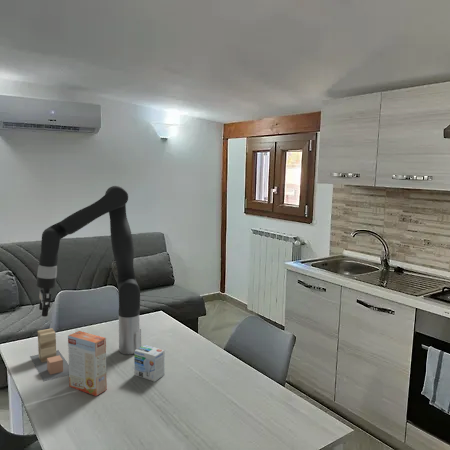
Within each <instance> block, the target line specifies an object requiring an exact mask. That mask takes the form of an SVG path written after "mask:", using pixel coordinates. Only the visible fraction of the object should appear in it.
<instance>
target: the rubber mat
mask: <svg viewBox="0 0 450 450" xmlns="http://www.w3.org/2000/svg"><path fill="white" fill-rule="evenodd" d="M59 355H60V357H61V358H62V359H63V372H59V373H55V374H51V375H50V373H49V372H48V370H47V361H46V362H41V360H40V359H39V353H38V354H34V355H30V356H29V357H30V359H31V361H32V362H33V365H34V367H35V369H36V370H37V372H38V374H39V376H40V378H41V379H42V382H46V381H51V380H56V379H59V378H63V377H66V376H69V362H67V359H65V357H64V356H63V354H62V352H61V351H60V350H59V349H56V356H59Z"/></svg>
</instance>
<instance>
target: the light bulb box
mask: <svg viewBox="0 0 450 450" xmlns="http://www.w3.org/2000/svg"><path fill="white" fill-rule="evenodd" d="M165 351H166V350H165V349H161V348H158V347H154V346H151V345H146V344H144V345H141V347H140V348H138V349H136V350H135V351H134V354H133V355H134V359H133V360H134V362H133V364H134V367H133V369H134V374H133V375H134V376H136V377H139V378H142V379H146V380H149V381H152V382H156V381H158V380H159V379H160V378H162V377H164V376H165V373H166V372H165V364H166V363H165V357H166V356H165V354H166V353H165Z"/></svg>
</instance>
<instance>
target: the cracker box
mask: <svg viewBox="0 0 450 450" xmlns="http://www.w3.org/2000/svg"><path fill="white" fill-rule="evenodd" d="M67 346H68V348H67V349H68V351H67V352H68V364H69V375H68V380H69V381H68V382H69V386H68V387H70V388H72V389H76V390H77V391H80V392H83V393H85V394H89V395H91V396H95V397H97V396H99V395H100V394H102V393H104V392H106V391H107V389H108V388H107V385H108V383H107V381H108V380H107V379H108V377H107V338H106V337H103V336H100V335H97V334H93V333H89V332H84V331H80V330H78V331H75V332H73V333H70V334H69V335H67Z"/></svg>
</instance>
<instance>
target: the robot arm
mask: <svg viewBox="0 0 450 450" xmlns="http://www.w3.org/2000/svg"><path fill="white" fill-rule="evenodd" d="M128 201H129V193H128V191H127V190H126V189H125V188H123V187H122V186H119V185H112V186H110V187H108V188H107V189H106V190H105V194H104V195H103V196H102V197H101V198H99V199H98V200H96V201H95V202H93V203H91V204H89V205H87V206H85V207H83V208H80V209H79V210H78V211H75V212H73V213H72V214H70V215H69V216H67V217H65V218H64V219H62V220H61V221H59V222H56V223H55V224H52V225H50V226H49V227H47V228H45V229H44V230H43V231H42V234H41V245H40V248H41V249H40V254H39V262H38V267H37V277H36V287H37V288H39V295H38V298H39V299H38V300H39V306H38V307H39V308H38V309H39V311H41V317H43V318H46V317H48V316H49V308H51V299H52V291H51V290H50V289H54V288H55V287H56V285H57V276H58V260H59V258H58V257H59V248H60V243H61V240H62V239H64V238H65V237H68V236H69V235H72V234H75V233H76V232H78V231H79V230H81V229H82V228H84V227H86V226H87V225H89V224H90V223H92V222H94V221H96V219H99V218H100V217H101V216H104V215H105V214H108V215H109V227H110V228H109V229H110V241H111V248H112V254H113V258H114V263H115V266H116V269H117V271H116V272H117V292H118V352H119V353H120V354H123V355H134V351H135V350H136V349H138V348H140V347H142V328H141V327H140V309H141V289H140V286H139V284H138V282H137V279H136V274H135V268H134V256H135V250H134V249H135V248H134V241H133V240H134V239H133V234H132V229H131V228H130V224H129V220H128V218H127V208H126V207H127V203H128Z"/></svg>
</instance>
